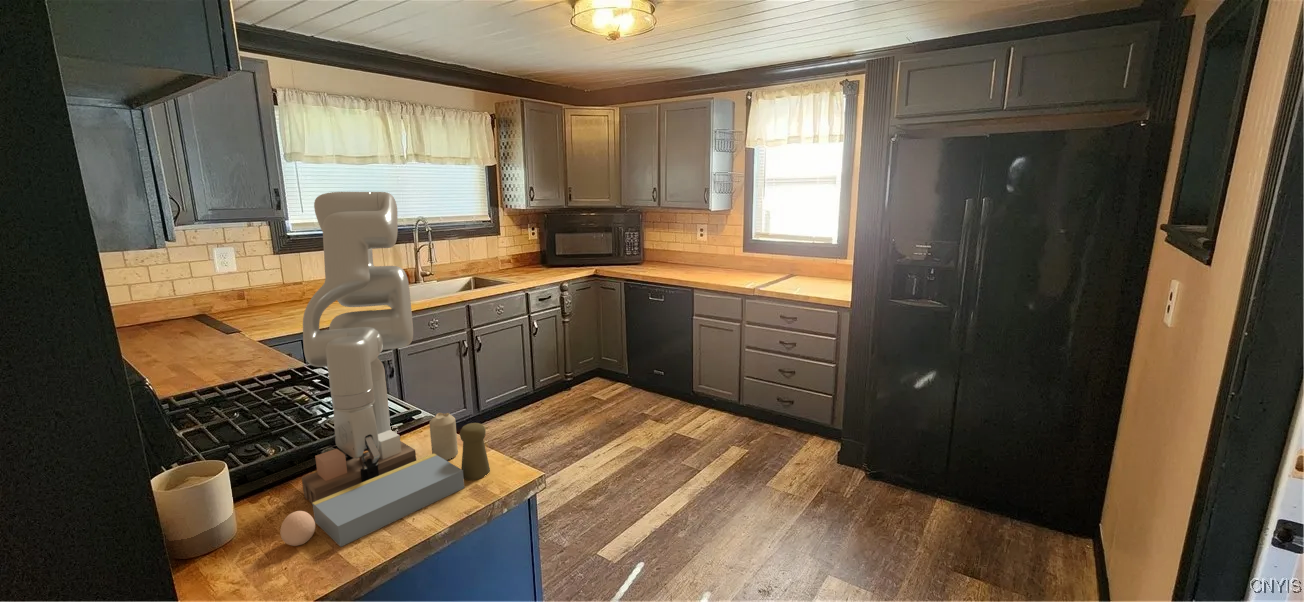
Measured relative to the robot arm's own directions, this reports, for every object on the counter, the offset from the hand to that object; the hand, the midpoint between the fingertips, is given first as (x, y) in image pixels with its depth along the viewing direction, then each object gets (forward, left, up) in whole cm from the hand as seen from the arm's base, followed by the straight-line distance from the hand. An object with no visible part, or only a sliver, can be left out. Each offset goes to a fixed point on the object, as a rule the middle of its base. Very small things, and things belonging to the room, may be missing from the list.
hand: (362, 477), depth 115 cm
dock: (+13, 0, -1) cm, 13 cm away
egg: (+12, -16, -1) cm, 20 cm away
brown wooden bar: (0, 0, -1) cm, 1 cm away
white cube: (0, +6, +3) cm, 7 cm away
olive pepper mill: (+15, +17, -1) cm, 23 cm away
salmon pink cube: (0, -5, +3) cm, 6 cm away
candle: (+3, +17, -1) cm, 17 cm away
